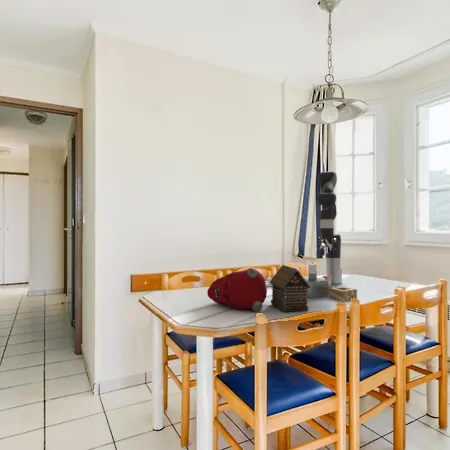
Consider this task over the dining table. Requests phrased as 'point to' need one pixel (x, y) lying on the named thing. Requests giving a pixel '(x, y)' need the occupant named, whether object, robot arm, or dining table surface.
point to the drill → (312, 271)
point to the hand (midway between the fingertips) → (327, 255)
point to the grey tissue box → (318, 288)
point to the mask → (239, 290)
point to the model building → (289, 290)
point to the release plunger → (328, 279)
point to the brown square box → (343, 293)
